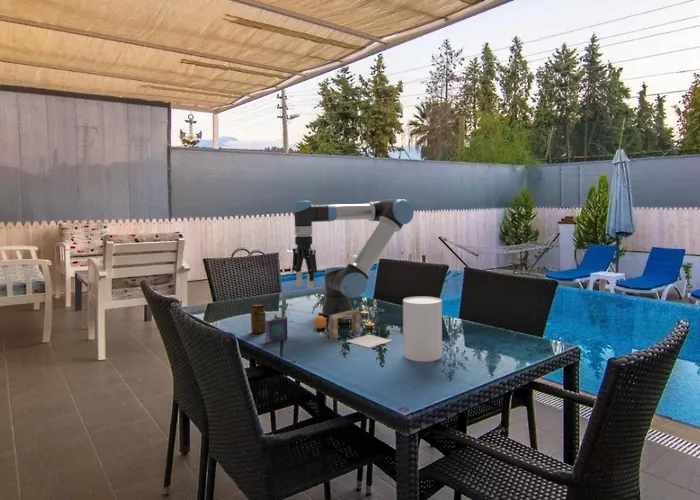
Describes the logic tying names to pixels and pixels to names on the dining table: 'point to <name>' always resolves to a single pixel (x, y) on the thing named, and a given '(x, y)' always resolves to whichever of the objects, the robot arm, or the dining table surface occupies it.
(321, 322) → the ball
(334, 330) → the bridge
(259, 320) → the condiment
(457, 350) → the dining table surface
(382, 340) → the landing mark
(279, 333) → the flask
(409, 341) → the canister
